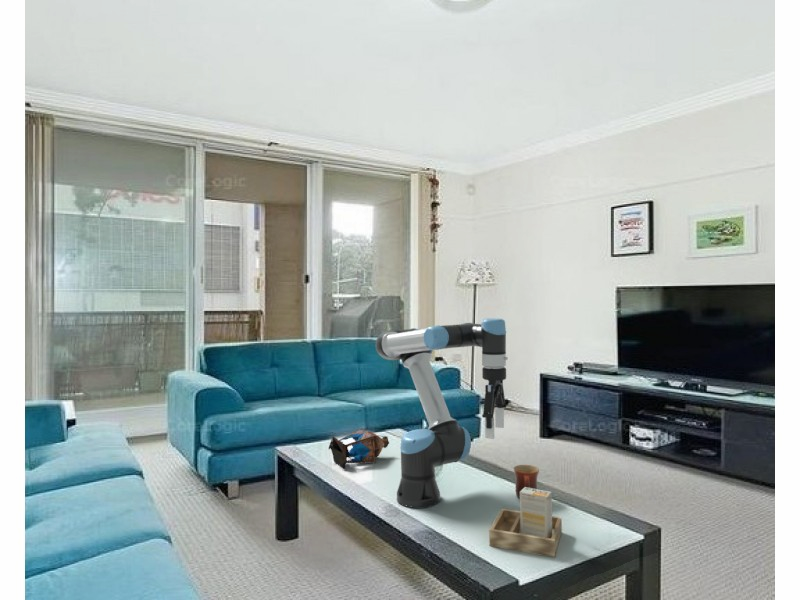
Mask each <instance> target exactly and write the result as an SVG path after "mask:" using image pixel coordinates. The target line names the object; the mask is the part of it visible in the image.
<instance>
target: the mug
mask: <svg viewBox="0 0 800 600" xmlns="http://www.w3.org/2000/svg"><path fill="white" fill-rule="evenodd" d="M513 472H514V476H515V497H516V498H517V499H518V500H520V491H521V490H522V489H523V488H525V487H528V488H533V489H538V477H539V473H540V469H539V467H537V466H535V465H532V464H531V465H530V464H520V465H519V464H518V465H515V466H514V467H513Z"/></svg>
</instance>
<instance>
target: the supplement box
mask: <svg viewBox="0 0 800 600" xmlns="http://www.w3.org/2000/svg"><path fill="white" fill-rule="evenodd" d="M552 495H553V494H552V491H548V490H542V489H538V488H537V489H533V488H528V487H525V488H523V489H522V490H521V491H520V499H519V511H520V527H521V534H526V535H532V536H538V537H544V538H550V539H551V537H552V516H553V510H552V509H553V502H552V499H553V498H552V497H553V496H552Z"/></svg>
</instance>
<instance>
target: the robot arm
mask: <svg viewBox="0 0 800 600" xmlns="http://www.w3.org/2000/svg"><path fill="white" fill-rule="evenodd" d="M506 329H507V328H506V322H505V320H504V319H503V318H483V319H482V320H481V323H473V322H464V323H461V324H450V325H449V324H445V325H439V324H438V325H433V326H429V327H426V328H408V329H390V330H385V331H384V332H382V333H380V334H379V335H378V336H377V339H376V340H375V350H376V353H377V354H378V355H379V356H380V357H381V358H383V359H384V360H389V361H397V360H398V361H400V360H401V363H402V365H403V367H404V368H406V369H408V370H409V373H410V376H411V380H412V382H413V384H414V387H415V389H416V390H415V391H416V392H417V395H418V399H419V400H420V403H421V406H422V409H423V411H424V414H425V417H426V420H427V423H428V425H429V426H428V428H420V429H419V428H417V429H412V430H410V431H408V432H405V433H404V434H403V435H402V437H401V439H400V447H399V449H400V463H401V464H400V467H401V468H400V469H401V470H400V471H401V473H400V474H401V478H400V482H399V484H398V488H397V491H396V501H397V503H398V502H399V503H398V504H400V503H401V504H403V505H402V506H404V505H407V506H412V507H411V508H413V507H424V508H429V506H430V507H432V506H435V505H438V503H440V502H441V492H440V488H439V485H438V483H437V480H436V477H435V475H436V474H435V471H436V468H435V467H438V466H444V465H448V464H452V463H457V462H459V461H462V460H465V459H466V458H468V456H469V454H470V453H471V447H472V441H471V436H470V435H471V434H470V433H469V431H468V429H466V427H464V426H459V423H458V421H457V419H456V418H454V417H451V414H450V411H449V409H448V406H447V404H446V400H445V398H444V396H443V395H444V394H443V393H442V391H441V388H440V385H439V383H438V382H439V381H438V379H437V378H436V375H435V372H434V370H433V367H432V365H431V362H430V360H431V358H432V353H433V351H437V350H447V349H453V348H454V349H455V348H456V349H457V348H467V347H480V348H482V351H481V352H482V355H481V365H482V366H483V367H482V369H481V370H482V374H481V375H482V379H483V380H485V381H488V384H486V385H485V389H484V391H485V394H484V403H483V404H484V405H483V410H482V411H483V413H482V415H481V417H482V418H484V432H485V433H484V435H485V436H484V437H485V439H488V440H489V439H490V440H494V439H495V428H497V429H499V428H500V429H504V428H505V410H504V409H505V408H507V404H506V398H505V391H504V390H505V389H504V383H503V382H504V381H505V380H506V379H507V368H506V366H507V360H508V356H506V355H507V348H506V347H507V342H506V341H507V339H506V338H507V337H506V335H507V331H506ZM494 415H495V416H494ZM401 504H400V505H401ZM407 506H406V507H407Z"/></svg>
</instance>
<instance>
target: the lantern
mask: <svg viewBox="0 0 800 600" xmlns="http://www.w3.org/2000/svg"><path fill="white" fill-rule="evenodd" d="M348 439H352V440H354V441H352V442H350V443H347V444H345V443H344V440H348ZM389 444H390V441H389V438H388V436H385V435H384V436H383V435H381V436H380V435H379V434H376V433H374V432H373V431H366V430H365V429H364V428H360V429H358V430H356V431H354V432H352V433H350V434H348V435H346V436H344V437H342V438H340V439H338V438H336V437H335V436H334V435H332V436H331V440H330V443H329V446H328V450H331V454H332V459H333V462H334V463H336V464H337V465H339V467H341V468H342V469H345V468H346V465H347V464H375V461H376V460H375V459H376V458H378V456H380V454H381V452H382V450H383V448H384V449H387V448H388V446H389ZM348 447H351V448H350V450H349V448H348Z"/></svg>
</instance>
